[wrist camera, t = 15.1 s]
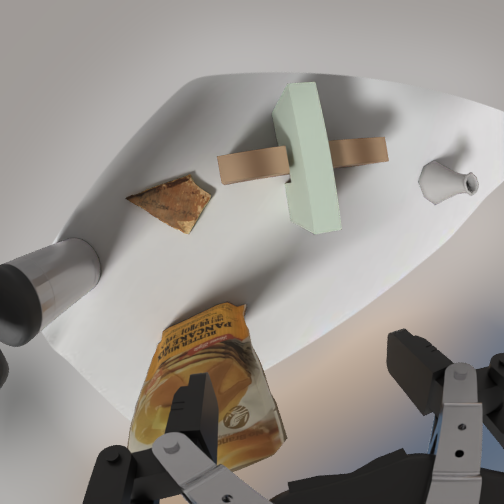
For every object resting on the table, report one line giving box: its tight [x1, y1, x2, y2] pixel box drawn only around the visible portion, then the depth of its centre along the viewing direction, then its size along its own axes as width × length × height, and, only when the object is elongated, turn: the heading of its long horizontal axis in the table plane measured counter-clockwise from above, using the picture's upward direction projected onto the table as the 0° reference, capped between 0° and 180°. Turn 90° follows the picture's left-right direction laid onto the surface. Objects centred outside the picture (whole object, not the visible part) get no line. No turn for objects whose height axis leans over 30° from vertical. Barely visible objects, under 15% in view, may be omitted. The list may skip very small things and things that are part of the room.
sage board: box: [272, 82, 342, 234], centre depth 35 cm, size 16×3×13 cm, turn 10°
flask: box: [418, 161, 479, 205], centre depth 38 cm, size 7×7×10 cm
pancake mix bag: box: [127, 302, 287, 472], centre depth 32 cm, size 7×19×28 cm, turn 116°
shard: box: [126, 175, 211, 234], centre depth 41 cm, size 11×8×2 cm
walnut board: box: [217, 137, 389, 185], centre depth 36 cm, size 20×3×10 cm, turn 100°
